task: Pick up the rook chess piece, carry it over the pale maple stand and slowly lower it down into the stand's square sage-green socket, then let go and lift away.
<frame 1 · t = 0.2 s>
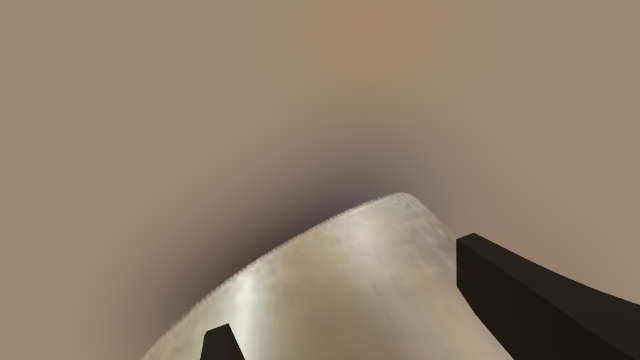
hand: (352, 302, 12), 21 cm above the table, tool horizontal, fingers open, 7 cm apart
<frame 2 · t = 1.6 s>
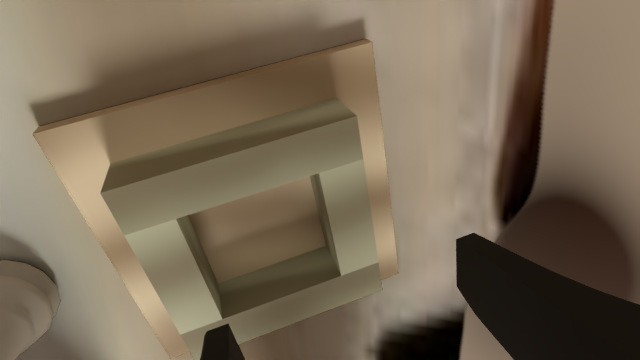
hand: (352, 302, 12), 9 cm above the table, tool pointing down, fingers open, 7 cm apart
socket stand: (256, 211, 21), on the table
rook chess piece: (9, 289, 19), on the table
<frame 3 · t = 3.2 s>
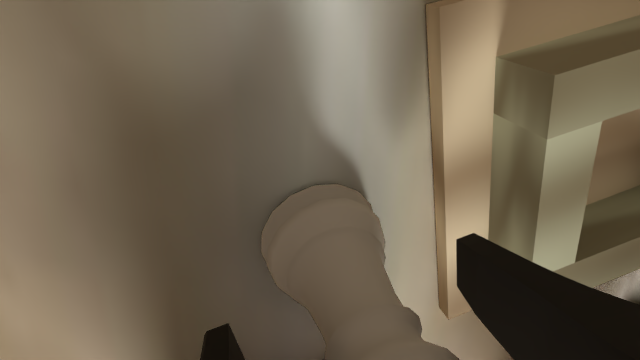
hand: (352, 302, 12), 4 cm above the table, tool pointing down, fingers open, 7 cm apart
socket stand: (580, 139, 17), on the table
rook chess piece: (314, 226, 16), on the table
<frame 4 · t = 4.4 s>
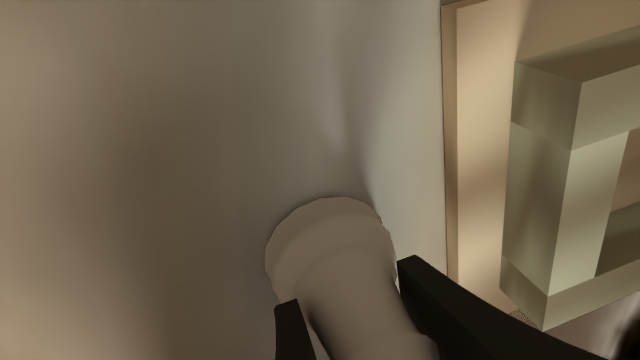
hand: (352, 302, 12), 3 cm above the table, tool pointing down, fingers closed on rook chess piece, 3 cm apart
socket stand: (598, 147, 17), on the table
rook chess piece: (321, 239, 15), on the table, touching gripper
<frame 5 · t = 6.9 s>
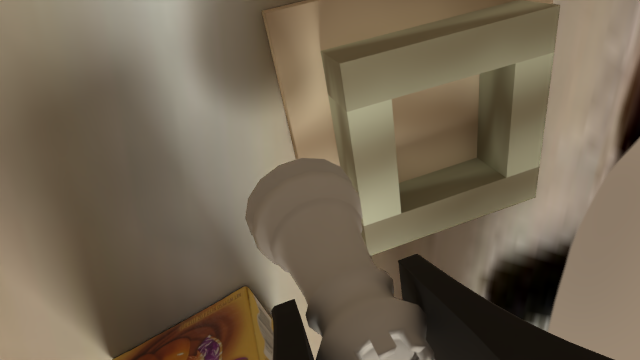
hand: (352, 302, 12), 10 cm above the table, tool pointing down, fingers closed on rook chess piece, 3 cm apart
socket stand: (420, 119, 22), on the table
candy box: (195, 334, 24), on the table
rook chess piece: (296, 198, 17), point 4 cm above the table, touching gripper
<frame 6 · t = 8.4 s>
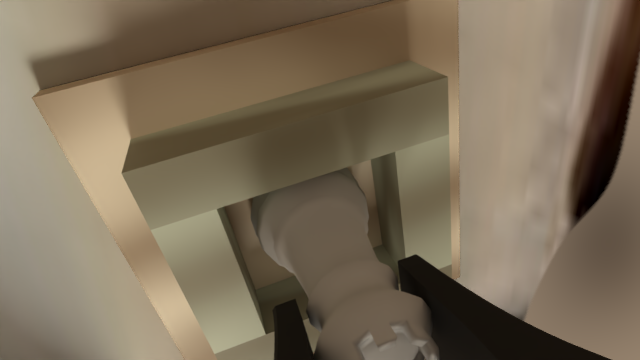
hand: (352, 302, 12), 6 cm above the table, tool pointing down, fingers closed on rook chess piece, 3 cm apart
socket stand: (302, 203, 17), on the table
rook chess piece: (303, 200, 16), point 1 cm above the table, touching gripper, socket stand
when the fingers open (5 cm above the table, at t = 9.4 s): rook chess piece stays where it is, resting on socket stand.
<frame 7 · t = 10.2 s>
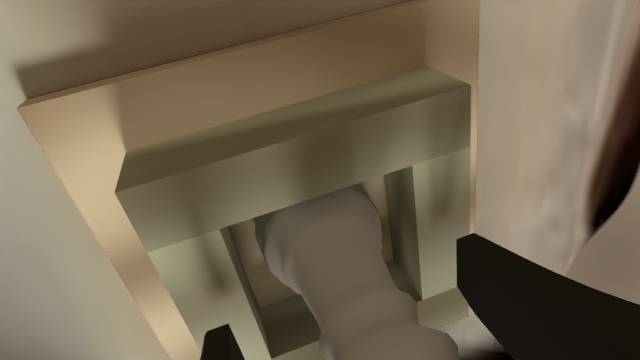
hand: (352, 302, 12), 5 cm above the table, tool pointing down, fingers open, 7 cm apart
socket stand: (309, 216, 16), on the table
rook chess piece: (310, 214, 15), point 1 cm above the table, touching socket stand
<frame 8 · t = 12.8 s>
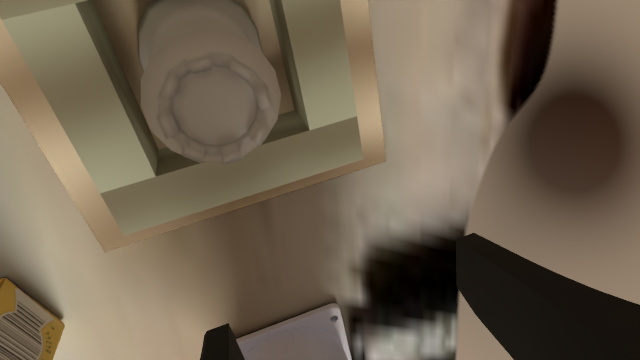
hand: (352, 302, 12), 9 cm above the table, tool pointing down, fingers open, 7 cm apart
socket stand: (204, 56, 17), on the table
rook chess piece: (200, 46, 16), point 1 cm above the table, touching socket stand
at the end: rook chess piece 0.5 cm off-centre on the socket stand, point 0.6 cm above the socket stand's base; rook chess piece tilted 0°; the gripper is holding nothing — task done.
